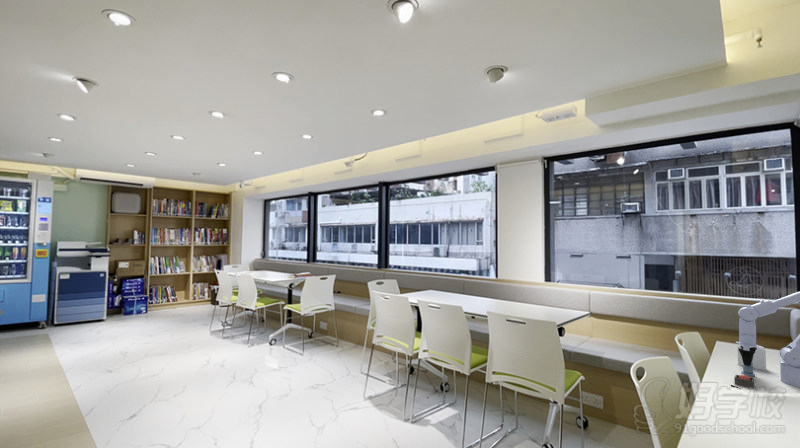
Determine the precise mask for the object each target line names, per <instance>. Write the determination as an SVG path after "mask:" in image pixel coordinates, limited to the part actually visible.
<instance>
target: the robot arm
mask: <svg viewBox="0 0 800 448" xmlns="http://www.w3.org/2000/svg"><path fill="white" fill-rule="evenodd" d="M798 303H800V291H796V292H794V293H791V294H789V295H787V296H784V297H783V296H782V297H781V298H778V299H776V300H773V301H772V300H768V299H765V300H764V299H761V300H759V302H757V303H755V304H752V305H751V304H748V305H747V307H746V306H745V307H744V306H743V307H741V308H740V309H738V311H737V315H738V316H739V320H738V321H739V322H738V335H739V336H738V340H739V341H735V344H740V345H741V346H740V347H741V348H742V349H741V348H738V347H737V351H738V350H739V352H740V354H741V356H742V360H743V364H744V365H746V366H750V365H751V361H752V360H753V355H754V353H755V351H756V349H757V348H756V347H757V345H758V344H757V325H756V320H757V319H758V318H761V317H766V316H768V315H772V314H774V313H777V311H778V309H780V308H783V307H787V306H789V305H793V304H798ZM779 356H780V358H781V361H779V366H780V367H779V368H780V369H779V370H780V371H779V372H780V382H782V383H784V384H787V385H790V386H794V387H797V388H800V333H799V334H798V335H797V336H796V338H795V339H794V340H793V341H792V342H790V343H789V344H787V345H786V346H785V347H782V348H780V350H779Z"/></svg>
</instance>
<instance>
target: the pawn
mask: <svg viewBox="0 0 800 448" xmlns="http://www.w3.org/2000/svg"><path fill="white" fill-rule="evenodd" d="M752 365H753V363H752V361H751V365H750V366H746V365H744V364H743V366H742V371H741V372H740V373H741V374H742V375H747V376H749V377H751V378H752V377H755V375H756V373H754V368H753V366H752Z"/></svg>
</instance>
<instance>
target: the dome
mask: <svg viewBox="0 0 800 448" xmlns="http://www.w3.org/2000/svg"><path fill="white" fill-rule="evenodd" d="M739 375H740V374H739ZM739 378H741V379H746V380H750V378H749V377H748V376H747V375H740V376H739ZM750 381H751V380H750Z"/></svg>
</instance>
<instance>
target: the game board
mask: <svg viewBox="0 0 800 448" xmlns="http://www.w3.org/2000/svg"><path fill="white" fill-rule="evenodd" d="M740 375H742V374H741V372H740V373H739V374H735V376H734V378H733V379H734V385H733V384H730V387H731V388H736V389H740V390H742V388H740V387H738V386H741V387H745V388H750V389H754V388H755V383H756V379H757V377H758V375H756V374H755V377H749V376H748V377H749V378H750V380H751V381H750V380H746V379H741V378H739V376H740ZM736 385H737V386H736Z"/></svg>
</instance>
